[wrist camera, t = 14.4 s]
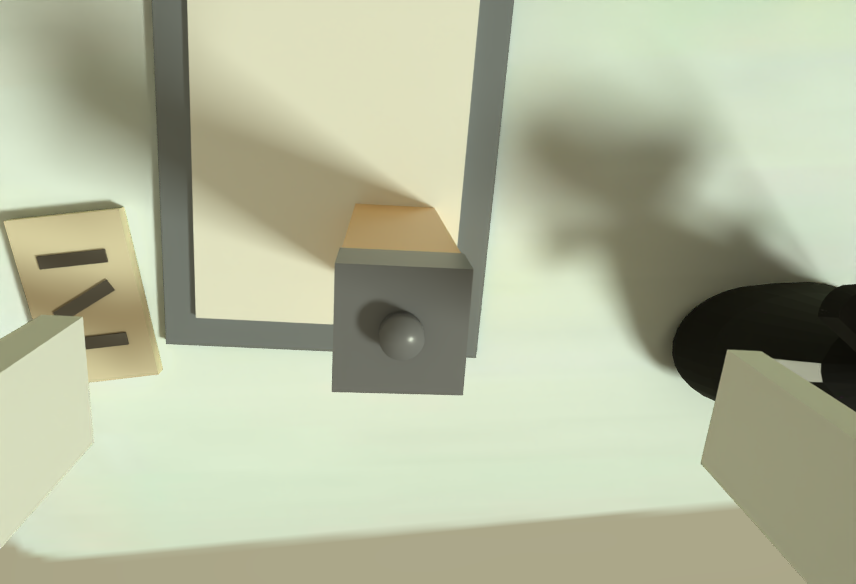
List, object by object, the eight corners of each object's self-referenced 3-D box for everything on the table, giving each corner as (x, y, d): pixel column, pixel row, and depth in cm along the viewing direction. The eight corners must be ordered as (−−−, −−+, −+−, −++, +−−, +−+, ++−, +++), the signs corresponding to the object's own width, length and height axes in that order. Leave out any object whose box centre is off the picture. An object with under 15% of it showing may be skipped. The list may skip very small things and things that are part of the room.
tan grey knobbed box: (354, 202, 27) (332, 268, 15) (435, 206, 28) (477, 275, 16) (352, 281, 28) (329, 401, 16) (430, 284, 29) (465, 404, 17)
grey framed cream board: (149, -134, 24) (142, -142, 23) (521, -91, 25) (525, -97, 25) (168, 340, 29) (164, 346, 29) (474, 354, 31) (476, 360, 30)
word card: (11, 219, 27) (2, 221, 27) (124, 207, 27) (117, 209, 27) (59, 381, 29) (51, 387, 29) (162, 369, 30) (157, 375, 29)
